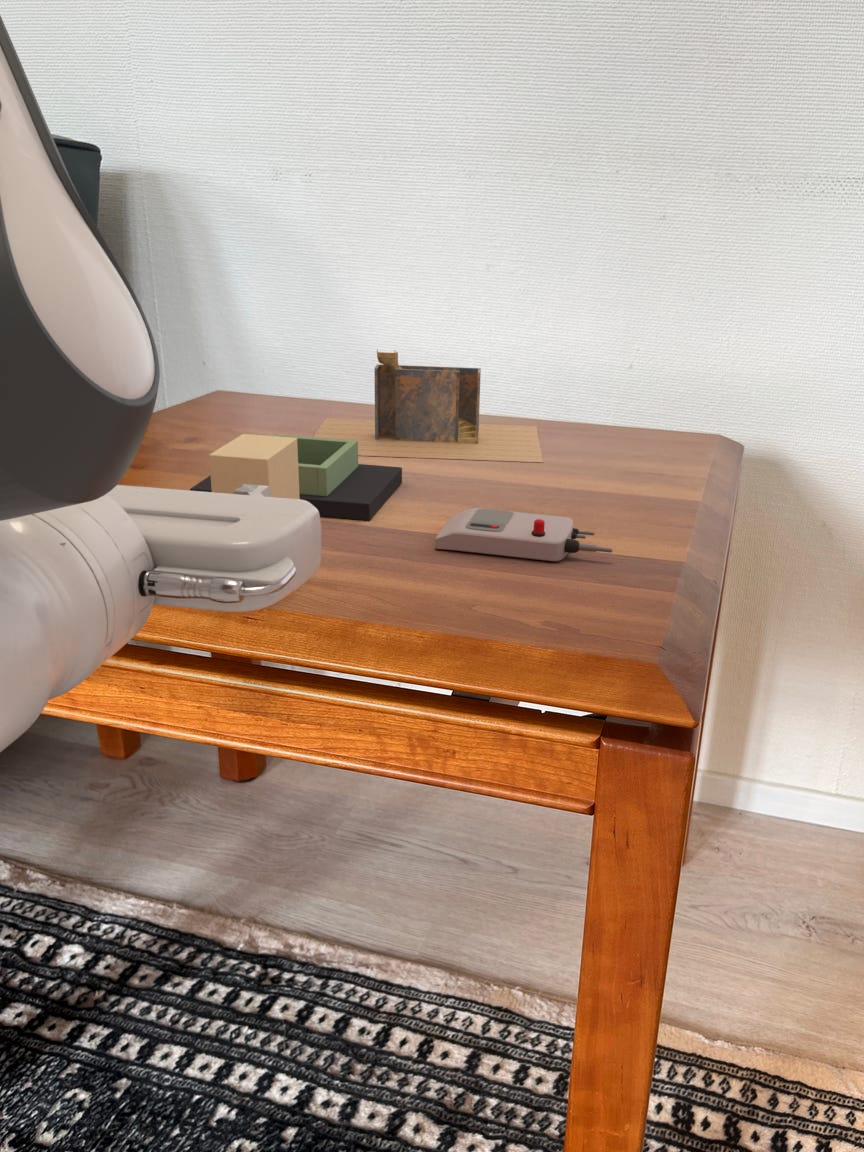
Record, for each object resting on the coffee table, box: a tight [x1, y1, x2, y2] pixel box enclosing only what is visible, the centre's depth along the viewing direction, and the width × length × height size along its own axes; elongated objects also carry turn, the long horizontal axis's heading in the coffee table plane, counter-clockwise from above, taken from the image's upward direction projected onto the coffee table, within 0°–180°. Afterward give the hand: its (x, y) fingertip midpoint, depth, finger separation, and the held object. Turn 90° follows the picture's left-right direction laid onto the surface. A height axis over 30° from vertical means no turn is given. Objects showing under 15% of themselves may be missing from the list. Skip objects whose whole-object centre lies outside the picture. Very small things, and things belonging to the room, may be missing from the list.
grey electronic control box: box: [434, 507, 613, 562], centre depth 82 cm, size 7×16×3 cm, turn 77°
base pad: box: [189, 434, 403, 521], centre depth 92 cm, size 16×12×4 cm
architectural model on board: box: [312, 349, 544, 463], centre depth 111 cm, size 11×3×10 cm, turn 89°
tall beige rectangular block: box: [208, 433, 300, 499], centre depth 71 cm, size 4×6×10 cm, turn 171°
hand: (179, 491), depth 58 cm, fingers open, 8 cm apart
